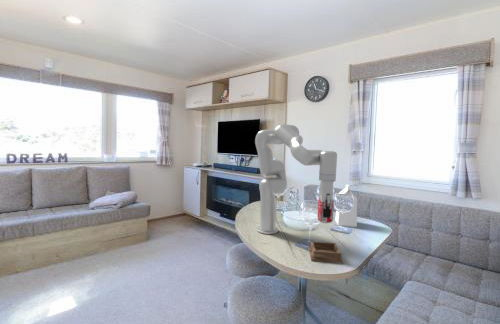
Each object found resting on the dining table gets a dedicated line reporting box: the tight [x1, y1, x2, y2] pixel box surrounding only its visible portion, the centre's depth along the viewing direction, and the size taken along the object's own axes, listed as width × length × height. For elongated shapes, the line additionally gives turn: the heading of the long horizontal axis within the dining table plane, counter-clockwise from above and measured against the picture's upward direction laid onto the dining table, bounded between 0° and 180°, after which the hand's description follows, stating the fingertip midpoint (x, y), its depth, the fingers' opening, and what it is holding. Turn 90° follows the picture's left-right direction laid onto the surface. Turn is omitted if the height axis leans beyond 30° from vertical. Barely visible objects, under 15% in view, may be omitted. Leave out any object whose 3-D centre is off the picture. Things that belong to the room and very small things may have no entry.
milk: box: [334, 184, 358, 228], centre depth 173 cm, size 12×12×26 cm
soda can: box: [317, 196, 335, 224], centre depth 123 cm, size 7×7×12 cm
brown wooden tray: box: [308, 240, 344, 264], centre depth 124 cm, size 14×14×4 cm
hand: (325, 214), depth 123 cm, fingers closed on soda can, 7 cm apart
